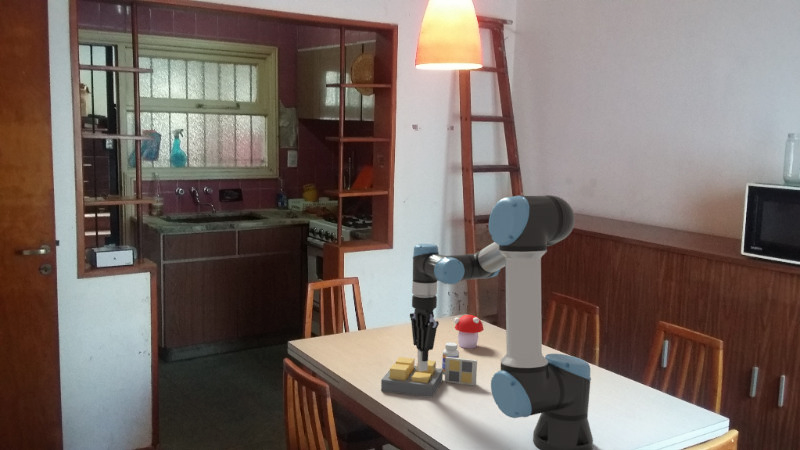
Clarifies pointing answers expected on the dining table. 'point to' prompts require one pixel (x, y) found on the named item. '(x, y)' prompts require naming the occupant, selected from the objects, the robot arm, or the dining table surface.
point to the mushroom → (468, 330)
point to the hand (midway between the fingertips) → (422, 370)
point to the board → (412, 384)
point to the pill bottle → (449, 353)
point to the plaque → (460, 370)
